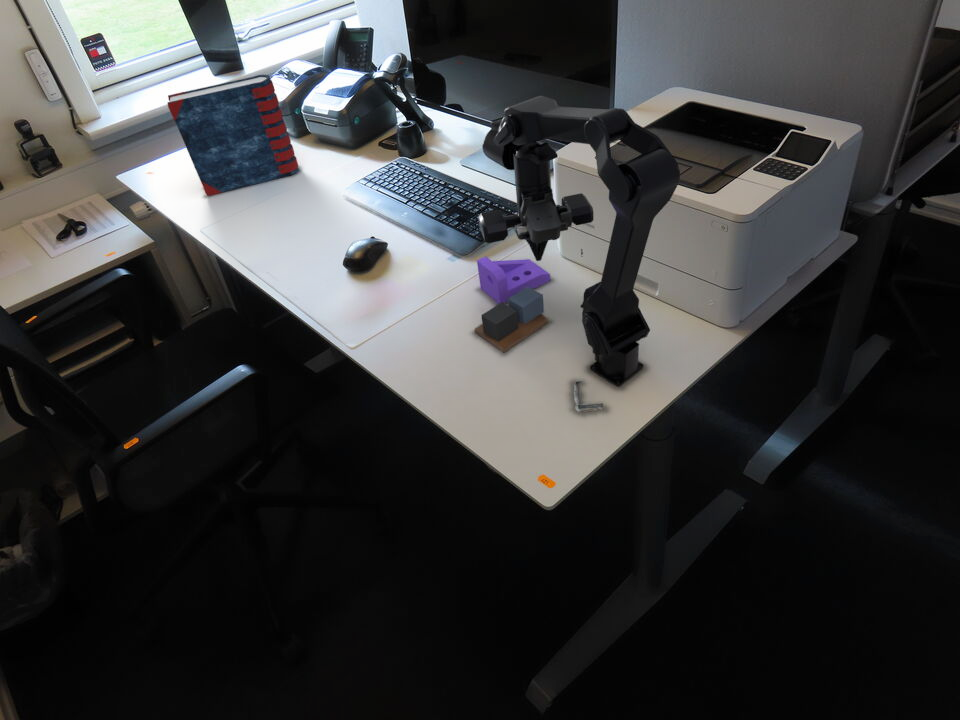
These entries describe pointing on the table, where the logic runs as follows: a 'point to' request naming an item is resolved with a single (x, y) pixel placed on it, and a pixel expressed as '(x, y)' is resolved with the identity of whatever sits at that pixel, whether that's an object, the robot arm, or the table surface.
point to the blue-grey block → (527, 304)
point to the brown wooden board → (514, 333)
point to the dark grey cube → (500, 321)
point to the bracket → (509, 277)
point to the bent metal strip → (585, 406)
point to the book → (234, 133)
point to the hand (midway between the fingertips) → (538, 259)
